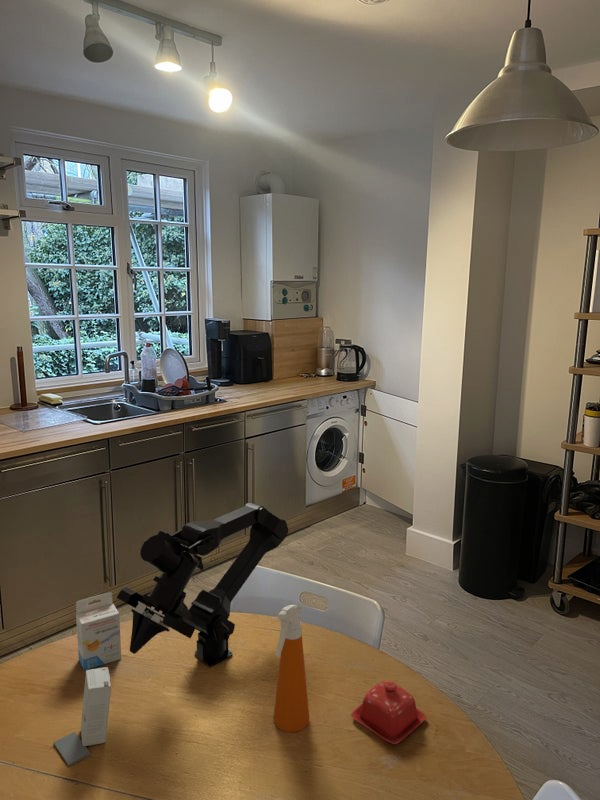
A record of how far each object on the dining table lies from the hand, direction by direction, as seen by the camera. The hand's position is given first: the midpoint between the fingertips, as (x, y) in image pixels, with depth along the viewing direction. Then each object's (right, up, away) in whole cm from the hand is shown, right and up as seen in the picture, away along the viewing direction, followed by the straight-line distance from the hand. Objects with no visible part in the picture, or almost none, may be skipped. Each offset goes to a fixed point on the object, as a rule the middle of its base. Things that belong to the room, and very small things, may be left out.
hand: (132, 652), depth 119 cm
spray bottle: (+31, -14, -2) cm, 34 cm away
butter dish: (+51, -14, 0) cm, 53 cm away
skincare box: (-6, -14, -5) cm, 16 cm away
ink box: (-12, -9, +18) cm, 23 cm away
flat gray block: (-9, -14, -8) cm, 19 cm away
